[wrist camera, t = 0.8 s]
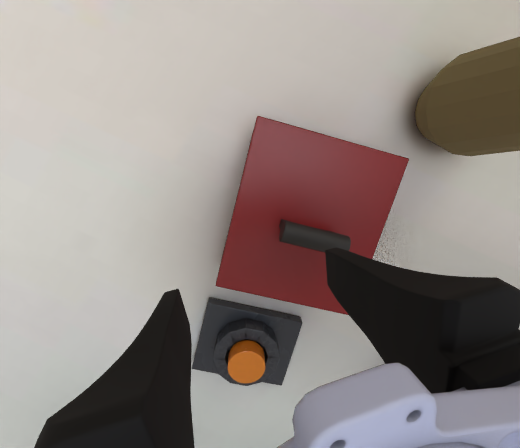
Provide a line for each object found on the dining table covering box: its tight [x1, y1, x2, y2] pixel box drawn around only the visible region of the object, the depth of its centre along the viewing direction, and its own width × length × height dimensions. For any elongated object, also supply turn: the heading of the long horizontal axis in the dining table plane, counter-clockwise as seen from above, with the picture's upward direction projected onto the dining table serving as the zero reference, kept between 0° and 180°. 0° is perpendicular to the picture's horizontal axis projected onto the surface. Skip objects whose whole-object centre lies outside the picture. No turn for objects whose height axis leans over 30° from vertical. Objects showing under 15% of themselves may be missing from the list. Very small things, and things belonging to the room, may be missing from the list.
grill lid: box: [216, 116, 409, 315], centre depth 23 cm, size 14×12×4 cm
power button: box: [228, 340, 265, 383], centre depth 28 cm, size 4×4×2 cm
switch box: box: [192, 298, 302, 386], centre depth 30 cm, size 10×8×3 cm
